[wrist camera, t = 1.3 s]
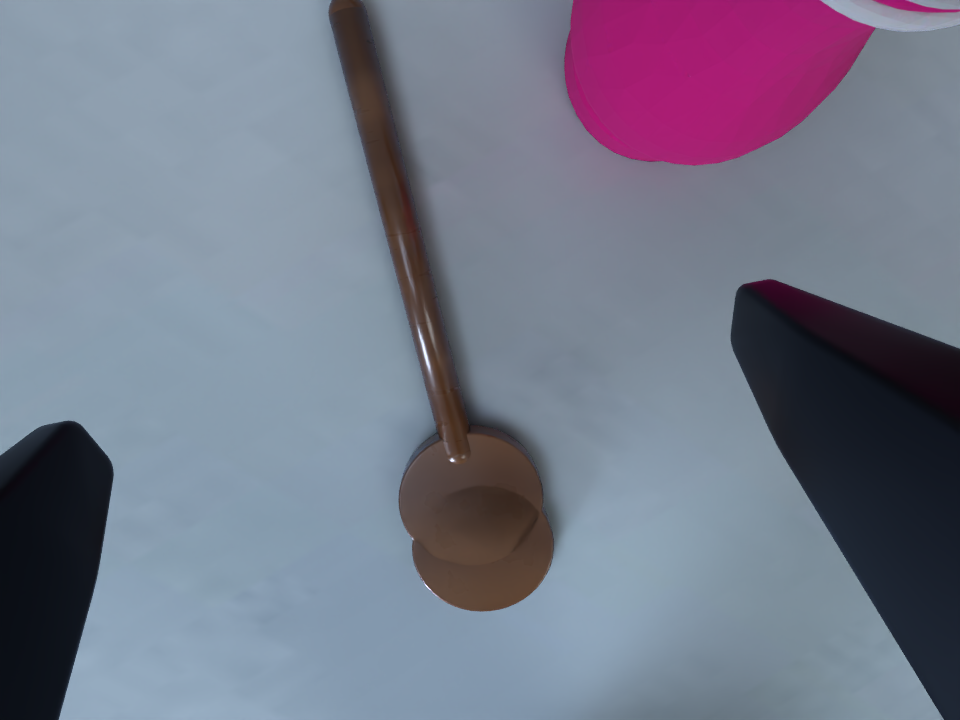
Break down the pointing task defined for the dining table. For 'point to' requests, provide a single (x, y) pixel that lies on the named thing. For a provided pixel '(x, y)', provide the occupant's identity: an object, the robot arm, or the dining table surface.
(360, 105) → the spoon
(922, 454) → the robot arm
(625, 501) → the dining table surface
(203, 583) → the dining table surface
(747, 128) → the pepper mill
